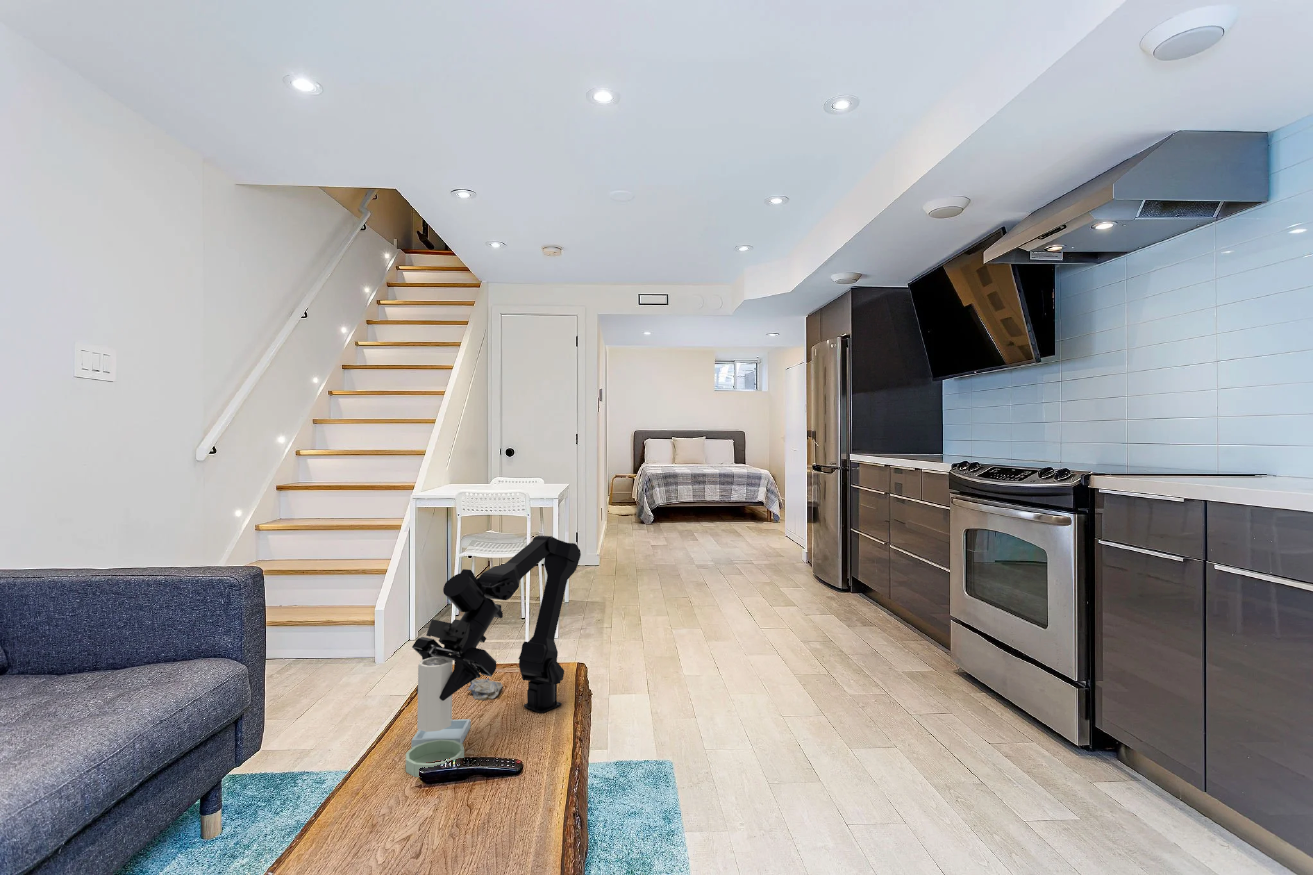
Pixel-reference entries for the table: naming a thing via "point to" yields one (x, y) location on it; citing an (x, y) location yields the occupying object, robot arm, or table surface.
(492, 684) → the mineral specimen
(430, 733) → the parts tray
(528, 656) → the robot arm
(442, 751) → the bowl
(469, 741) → the table surface
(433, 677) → the pebble cup
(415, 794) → the table surface
